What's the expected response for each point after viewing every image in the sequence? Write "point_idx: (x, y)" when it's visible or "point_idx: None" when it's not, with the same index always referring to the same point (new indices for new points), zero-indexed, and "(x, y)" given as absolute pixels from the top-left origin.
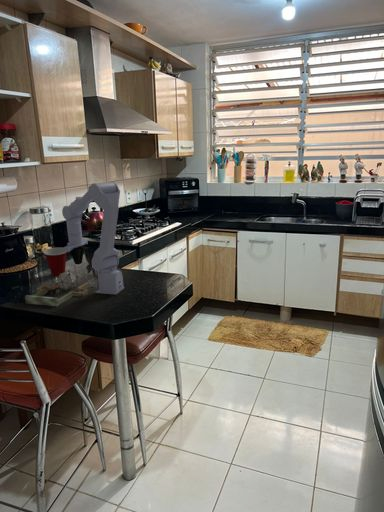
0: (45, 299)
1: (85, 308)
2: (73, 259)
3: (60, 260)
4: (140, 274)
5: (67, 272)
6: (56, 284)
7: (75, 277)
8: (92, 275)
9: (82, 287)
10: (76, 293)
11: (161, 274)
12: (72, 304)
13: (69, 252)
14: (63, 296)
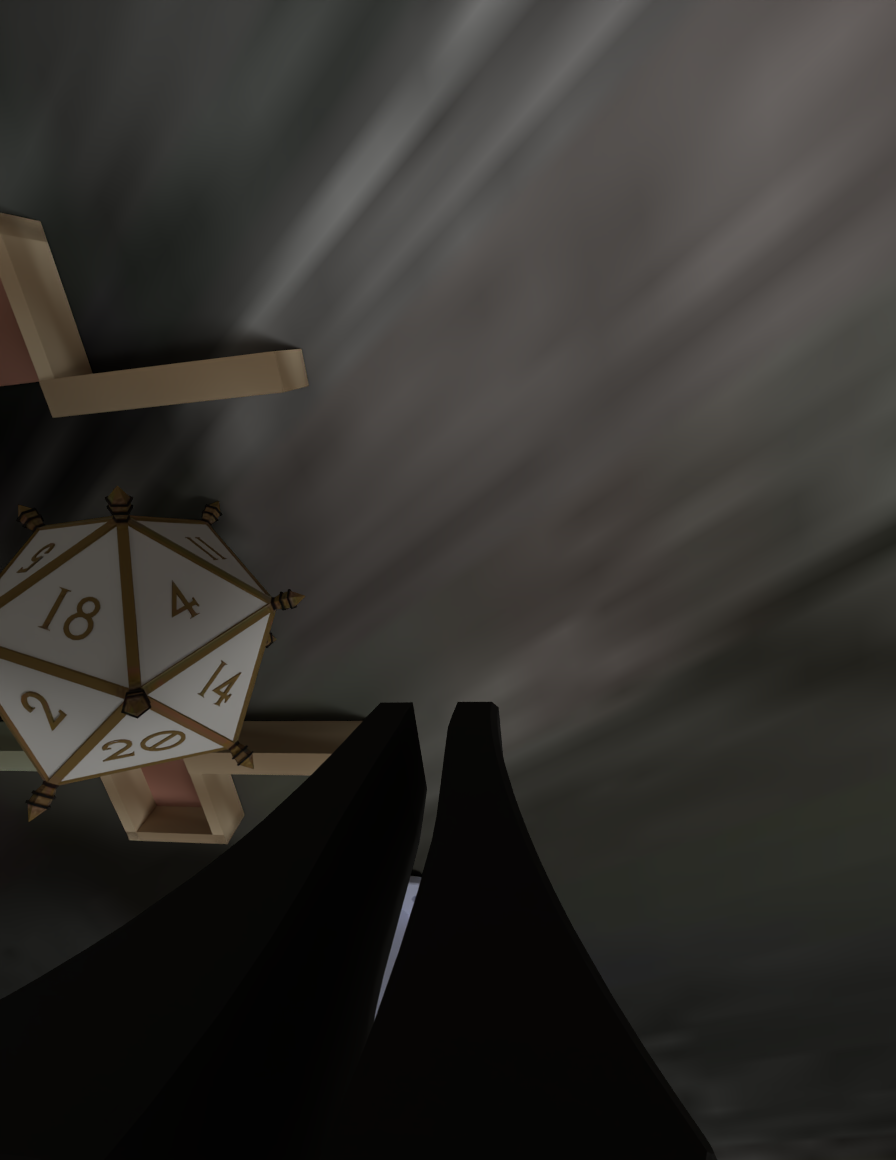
0: None
1: (29, 916)
2: (305, 782)
3: None
4: (869, 1021)
5: (77, 719)
6: (142, 407)
7: (205, 748)
8: (797, 556)
9: None
10: (113, 787)
11: (873, 1142)
12: (9, 819)
13: (8, 1012)
14: None
